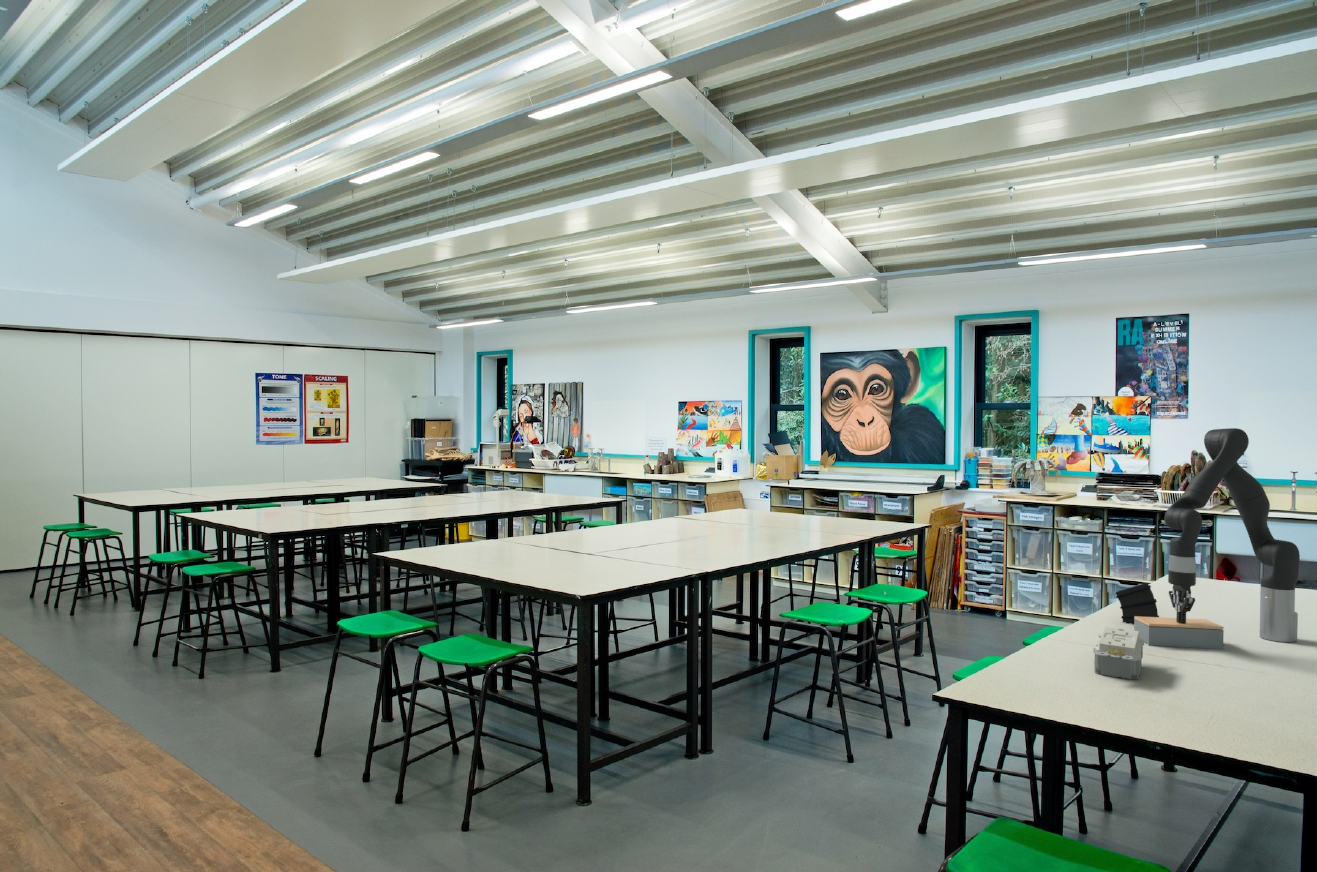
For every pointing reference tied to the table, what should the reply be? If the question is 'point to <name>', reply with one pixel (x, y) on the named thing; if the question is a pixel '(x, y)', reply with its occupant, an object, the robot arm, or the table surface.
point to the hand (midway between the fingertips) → (1181, 623)
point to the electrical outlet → (1119, 653)
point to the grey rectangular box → (1180, 636)
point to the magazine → (1137, 602)
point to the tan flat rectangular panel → (1173, 623)
